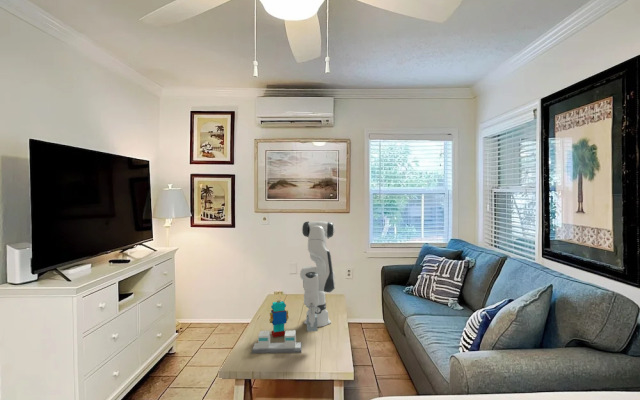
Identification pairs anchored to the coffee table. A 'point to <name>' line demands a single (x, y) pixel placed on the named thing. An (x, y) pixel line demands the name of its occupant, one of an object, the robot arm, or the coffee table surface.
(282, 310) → the toy robot
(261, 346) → the rail rack
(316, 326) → the block
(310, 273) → the robot arm
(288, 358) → the coffee table surface
